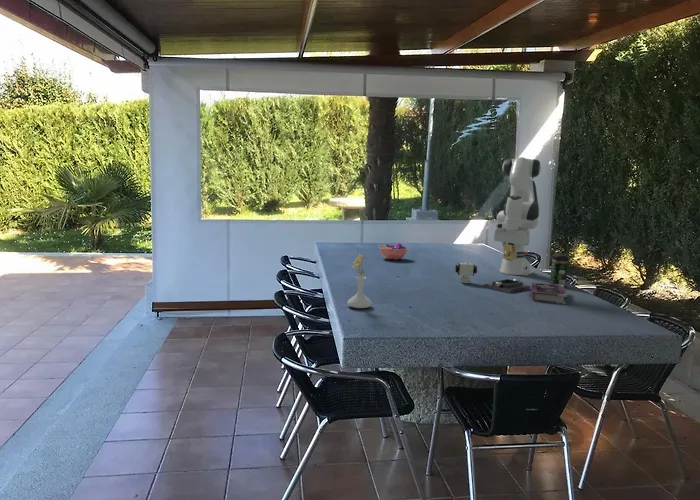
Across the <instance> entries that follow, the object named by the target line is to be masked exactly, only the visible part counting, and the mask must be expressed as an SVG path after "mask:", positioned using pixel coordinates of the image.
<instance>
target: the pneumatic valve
mask: <svg viewBox="0 0 700 500" xmlns="http://www.w3.org/2000/svg"><path fill="white" fill-rule="evenodd" d="M477 272H478V265H476V264H475V263H473V262H472V263H471V262H468V261H465V262H457V264H455V265H454V273H456V274H457V275H458V276H461V277H460V278H459V281H460V283H462V284H469V283H470V282H471V278H470V277H469V276H471V277H472V276H473V277H474V276H475V274H477Z"/></svg>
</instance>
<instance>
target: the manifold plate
mask: <svg viewBox="0 0 700 500" xmlns="http://www.w3.org/2000/svg"><path fill="white" fill-rule="evenodd" d="M483 285H484V287H483V288H485V289H490V290H493V291H498V292H501V293H502V292H503V293H507V294H512V293H517V292H522V291H526V290H527V289H528V290H531V285H532V284H531V285H530V284H525V283H524V282H523V281H521V280H520V278H517V277H516V278H514V279H510V278H509V279H508V278H505V279H500V280H495V281H492V282H488V283H484V284H483Z"/></svg>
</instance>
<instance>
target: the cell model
mask: <svg viewBox="0 0 700 500" xmlns="http://www.w3.org/2000/svg"><path fill="white" fill-rule="evenodd" d="M409 250H410V249H409V247H406V246H403V244H402V243H400V242H398V243H397V245H390V244H386V245H382V246H379V251H380V253H381V255H382V256H383V258H385V259H387V260H390V259H391V260H392V259H393V261H397V260H398V259H399V260H402V259H403V258H404V257H405V256H406V254H407V253H408V251H409Z"/></svg>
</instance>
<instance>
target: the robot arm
mask: <svg viewBox="0 0 700 500" xmlns="http://www.w3.org/2000/svg"><path fill="white" fill-rule="evenodd" d="M501 170H502V172H503V175H504V176H507V177H509V182H510V184H511V186H510V193H509V194H510V195H509V196H508V197H507V200H506V203H505V204H504V205H503V210H501V211H499V212H498V214H497V215H496V222H497V223H496V224H495V230H494V234H493V239H494V241H495V242H499V243H500V242H501V245H502V247H503V251H504V244H508V243H512V244H516V246H517V247H516V248H515V249H514V252H517V257H516V259H514V260H509V259H503V258H502V262H501V266H500V268H499V272H500V273H502V274H506V275H512V276H515V275H516V276H528V275H530V274H534V273H535V272H534V270H532V269H531V262H529V261H528V259H527V258H526V255H528V251H525V246H528V245H529V244H530V232H531V231H530V230H535V229H536V228H537V227H538V224H539V216H540V214H541V213H540V211H541V210H540V206H539V200H538V193H537V191H538V190H537V186H536V182H535V180H534V178H537V177H538V176H539V175H540V173H541V171H542V164H541V161H540V160H539V159H535V158H533V159H531V158H526V157H524V156H521V157H517V158H507V159H505V160H504V162H503V164H502V169H501Z"/></svg>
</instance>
